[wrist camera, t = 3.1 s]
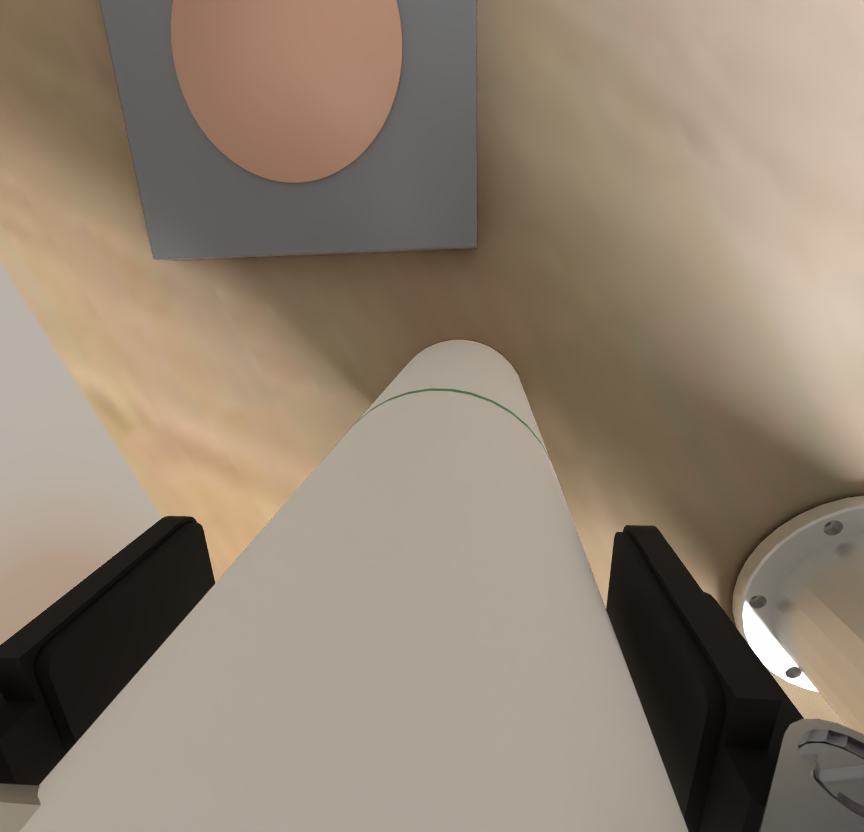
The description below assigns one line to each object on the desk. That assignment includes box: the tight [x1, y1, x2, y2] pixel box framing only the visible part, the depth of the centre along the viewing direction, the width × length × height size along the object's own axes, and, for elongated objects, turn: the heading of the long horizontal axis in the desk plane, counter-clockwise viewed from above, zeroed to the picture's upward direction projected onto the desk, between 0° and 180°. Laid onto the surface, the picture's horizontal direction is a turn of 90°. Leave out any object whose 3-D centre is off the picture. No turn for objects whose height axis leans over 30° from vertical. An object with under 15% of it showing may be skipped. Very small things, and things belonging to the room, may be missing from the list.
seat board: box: [100, 0, 477, 261], centre depth 19 cm, size 16×16×2 cm
